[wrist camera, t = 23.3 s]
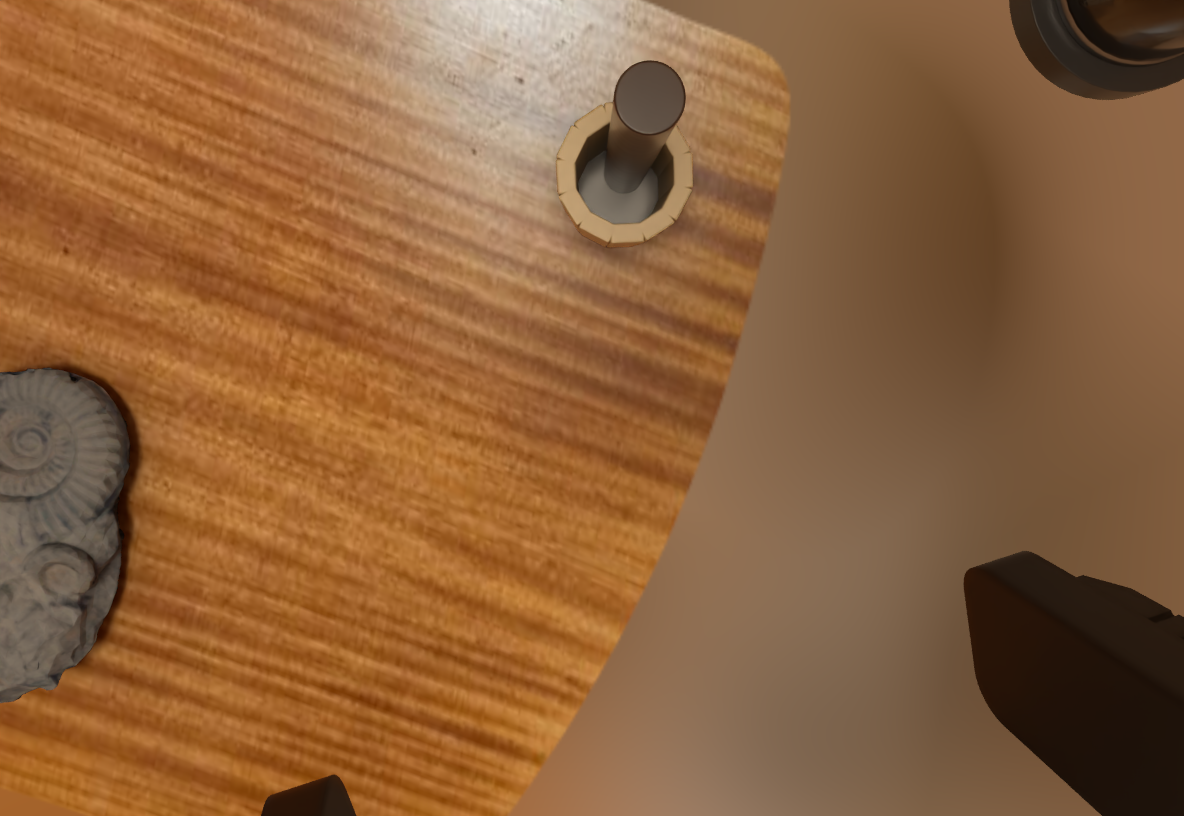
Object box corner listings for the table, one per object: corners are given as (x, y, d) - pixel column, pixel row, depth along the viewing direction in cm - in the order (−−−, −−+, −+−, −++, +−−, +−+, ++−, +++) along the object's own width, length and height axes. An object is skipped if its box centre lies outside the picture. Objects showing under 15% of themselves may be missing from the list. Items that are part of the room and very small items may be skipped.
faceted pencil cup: (671, 130, 41) (691, 98, 33) (675, 244, 42) (694, 239, 34) (560, 136, 41) (552, 105, 33) (566, 249, 42) (560, 246, 34)
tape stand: (678, 112, 42) (756, -24, 22) (682, 231, 43) (759, 203, 23) (561, 118, 42) (535, -13, 22) (568, 237, 43) (548, 213, 23)
